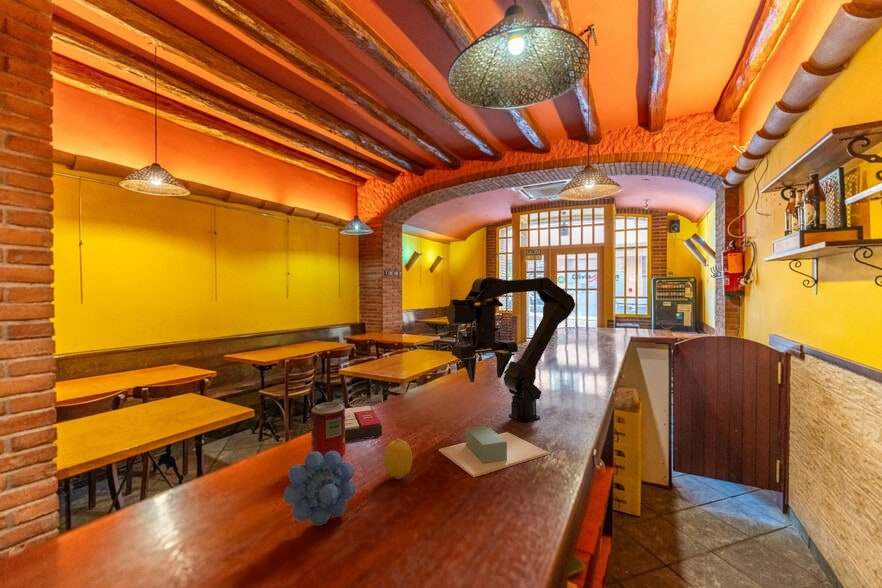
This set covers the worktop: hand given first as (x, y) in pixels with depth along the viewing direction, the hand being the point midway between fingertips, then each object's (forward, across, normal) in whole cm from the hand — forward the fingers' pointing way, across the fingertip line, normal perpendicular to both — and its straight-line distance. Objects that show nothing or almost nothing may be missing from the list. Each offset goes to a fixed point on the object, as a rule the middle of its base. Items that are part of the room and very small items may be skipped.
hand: (485, 379), depth 104 cm
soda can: (+12, +43, +1) cm, 45 cm away
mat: (+12, +10, +16) cm, 22 cm away
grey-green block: (+12, +12, +16) cm, 23 cm away
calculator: (+13, +32, -15) cm, 38 cm away
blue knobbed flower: (+12, +49, +24) cm, 56 cm away
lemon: (+12, +33, +16) cm, 39 cm away
